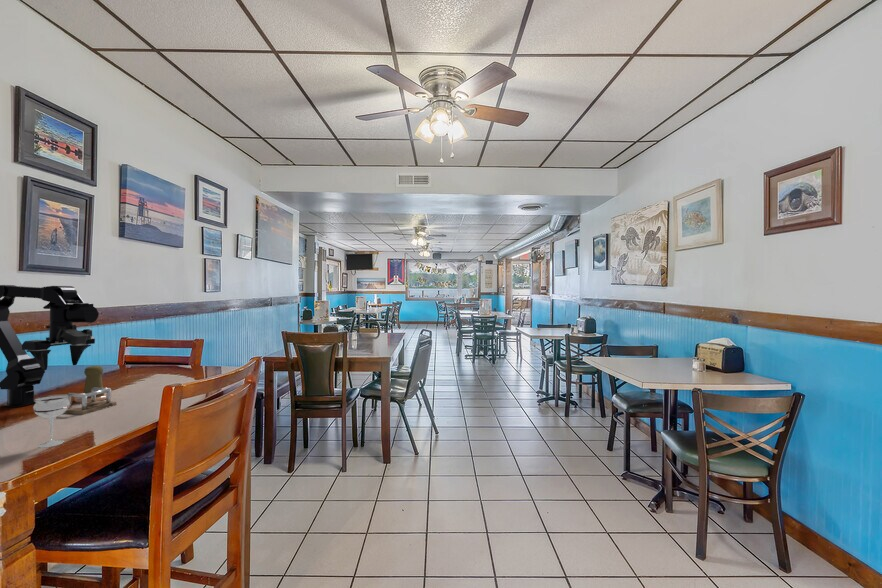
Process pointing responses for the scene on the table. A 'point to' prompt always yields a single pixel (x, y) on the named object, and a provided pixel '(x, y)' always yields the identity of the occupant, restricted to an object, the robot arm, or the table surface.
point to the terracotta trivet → (79, 400)
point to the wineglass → (51, 412)
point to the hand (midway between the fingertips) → (60, 367)
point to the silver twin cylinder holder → (93, 394)
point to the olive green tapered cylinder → (93, 379)
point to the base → (94, 407)
